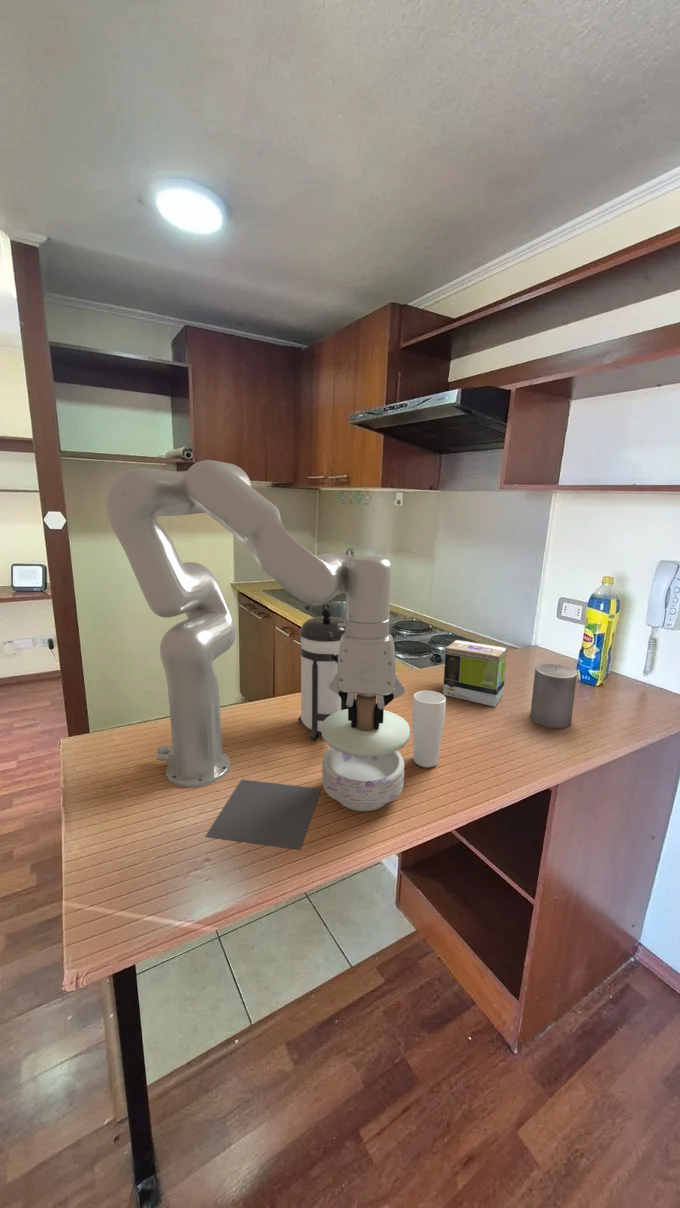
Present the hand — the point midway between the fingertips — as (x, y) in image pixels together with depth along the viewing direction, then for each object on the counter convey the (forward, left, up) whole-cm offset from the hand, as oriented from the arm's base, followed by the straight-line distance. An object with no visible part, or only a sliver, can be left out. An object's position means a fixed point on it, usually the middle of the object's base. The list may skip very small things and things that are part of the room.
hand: (365, 724), depth 84 cm
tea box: (+26, +52, -15) cm, 60 cm away
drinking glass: (+12, +14, -15) cm, 24 cm away
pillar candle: (+44, +40, -15) cm, 61 cm away
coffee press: (-11, +24, -15) cm, 30 cm away
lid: (0, 0, -2) cm, 2 cm away
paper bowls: (0, 0, -15) cm, 15 cm away
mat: (-16, -8, -15) cm, 23 cm away
